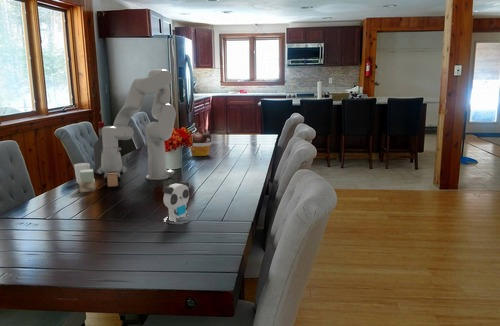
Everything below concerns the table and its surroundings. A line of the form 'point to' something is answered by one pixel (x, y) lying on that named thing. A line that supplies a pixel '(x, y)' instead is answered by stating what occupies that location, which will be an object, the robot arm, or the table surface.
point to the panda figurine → (176, 200)
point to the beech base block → (87, 186)
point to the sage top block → (87, 175)
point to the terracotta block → (112, 179)
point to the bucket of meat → (201, 143)
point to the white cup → (80, 167)
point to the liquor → (99, 148)
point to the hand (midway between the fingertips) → (112, 183)
